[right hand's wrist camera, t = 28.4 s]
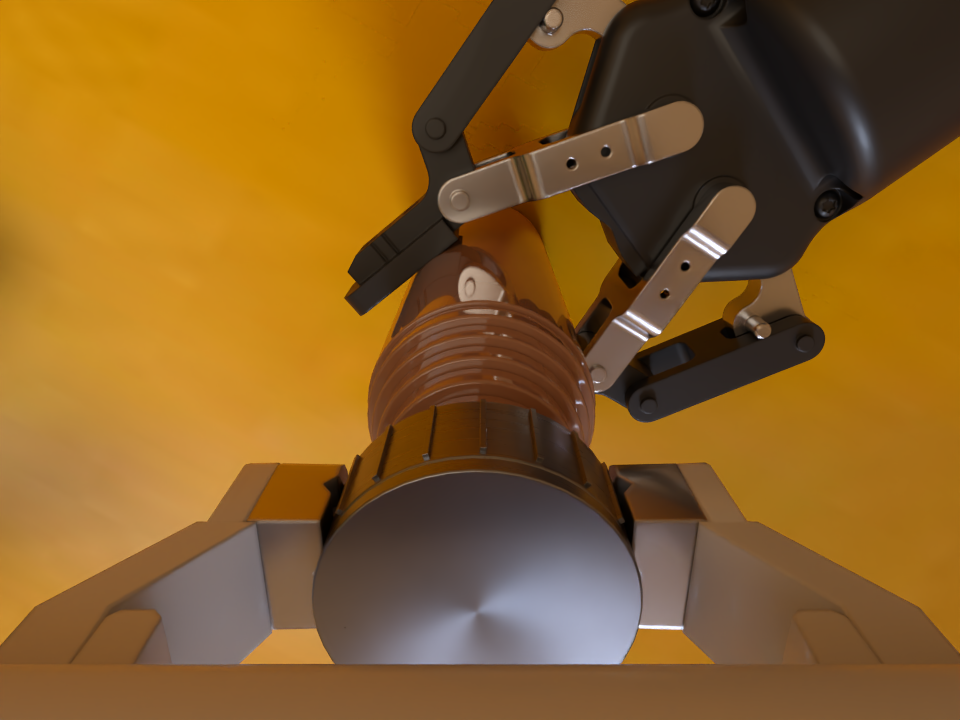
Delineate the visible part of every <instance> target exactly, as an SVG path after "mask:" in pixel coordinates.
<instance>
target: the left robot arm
mask: <svg viewBox="0 0 960 720" xmlns="http://www.w3.org/2000/svg"><path fill="white" fill-rule="evenodd" d="M575 34H587V35H590V36H592V37H593V38H594V39H596V41H595V44H594V47H593V51H592V54H591V57H590V60H589V64H588V67H587V70H586V73H585V77H584V80H583V83H582V86H581V90H580V93H579V96H578V99H577V103H576V106H575V109H574V112H573V116H572V119H571V122H570V125H569V128H566V129H563V130H561V131H558V132H555V133H552V134H549V135H547V136H544V137H541V138H538V139H535V140H533V141H530V142H527V143H524V144H522V145H519V146H517V147H514V148H512V149H510V150H508V151H506V152H503V153H500V154H497V155H495V156H492V157H489V158H486V159H484V160H481V161H478V162H475V163H474V162H473V159H472V156H471V153H470V150H469V147H468V144H467V141H466V138H465V135H464V132H463V131H464V129H465V128H466V126H467V125H468V124H469V122H470V121H471V119H472V118H473V117H474V115H475V114H476V112H477V111H478V109H479V108H480V107H481V105H482V104H483V102H484V101H485V100H486V98H487V97H488V95H489V94H490V93H491V91H492V90H493V88H494V87H495V86H496V84H497V83H498V81H499V80H500V79H501V77H502V76H503V74H504V73H505V71H506V70H507V69H508V67H509V66H510V64H511V63H512V62H513V60H514V59H515V57H516V56H517V55H518V53H519V52H520V50H521V49H522V48H523V46H524V45H525V43H526V42H528V43H529V44H530V45H532V46H533V47H534V48H536V49H538V50H541V51H550V50H554V49H556V48H557V47H559V46H560V45H562V44H563V43H564V42H565V41H566V40H567V39H568V38H569V37H570V36H572V35H575ZM412 133H413V136H414V139H415V141H416V142H417V144H418V145H419V148H420V151H421V154H422V156H423V159H424V162H425V165H426V168H427V171H428V175H429V186H428V190H427V192H426V193H425V194H424V195H423V196H422V197H421V198H420V199H419V200H418V201H416V202H415V203H414V204H413V205H412V206H410V207H409V208H408V209H407V210H406V211H404V212H403V213H402V214H401V215H400V216H398V217H397V218H396V219H395V220H394V221H392V222H391V223H390V224H389V225H388V226H386V227H385V228H384V229H383V230H382V231H380V232H379V233H378V234H377V235H376V236H374V237H373V238H372V239H371V240H370V241H369V242H367V243H366V244H365V245H364V246H363V247H362V248H361V250H360V251H359V252H358V253H357V255H356V256H355V258H354V260H353V262H352V264H351V266H350V268H349V270H348V273H349V274H350V275H351V277H352V278H353V279H354V280H355V281H356V282H355V283H354V284H353V285H352V287H351V288H350V290H349V291H348V293H347V294H346V296H345V297H344V298H345V299H346V301H347V302H348V303H349V304H350V305H351V306H352V307H353V308H354V309H355V310H356V312H357V313H358V314H359V315H360V316H362V315H364V314H365V313H367V312H368V311H369V310H371V309H372V308H373V307H374V306H376V305H377V304H378V303H379V302H381V301H382V300H383V299H384V298H386V297H387V296H388V295H389V294H391V293H392V292H393V291H394V290H396V289H397V288H398V287H399V286H400V285H402V284H403V283H404V282H405V281H407V280H408V279H409V278H410V277H412V276H413V275H414V274H415V273H417V272H418V271H419V270H420V269H422V268H423V267H424V266H425V265H426V264H427V263H428V262H429V261H431V260H432V259H433V258H435V257H436V256H438V255H439V254H440V253H442V252H443V251H444V250H445V249H447V248H448V247H449V246H450V245H452V244H453V243H454V242H455V241H457V240H458V237H459V228H460V226H462V225H463V224H464V223H466V222H469V221H472V220H475V219H478V218H481V217H484V216H486V215H489V214H492V213H495V212H498V211H501V210H504V209H507V208H509V207H512V206H515V205H518V204H521V203H524V202H528V201H536V200H541V199H544V198H547V197H550V196H553V195H556V194H559V193H562V192H565V191H568V190H570V191H571V192H572V193H573V195H574V196H575V197H576V199H577V200H578V201H579V202H580V203H581V204H582V205H583V206H584V207H585V208H586V209H587V210H588V211H589V212H591V213H592V214H593V215H595V216H596V217H597V218H598V219H600V222H601V225H602V227H603V230H604V233H605V236H606V238H607V241H608V243H609V244H610V246H611V247H612V248H613V250H614V251H615V252H616V254H617V255H618V257H619V259H618V260H617V262H616V263H615V265H614V266H613V268H612V269H611V270H610V272H609V273H608V275H607V276H606V278H605V279H604V281H603V283H602V285H601V288H600V292H599V295H598V297H597V298H596V300H595V301H594V302H593V304H592V305H591V307H590V308H589V310H588V311H587V312H586V314H585V315H584V317H583V318H582V319H581V321H580V322H579V324H578V325H577V326H576V328H575V329H574V330H575V332H576V335H577V338H578V341H579V343H580V346H581V349H582V352H583V354H584V357H585V360H586V363H587V365H588V368H589V371H590V374H591V376H592V381H593V385H594V390H595V394H601V395H604V396H606V397H608V398H610V399H612V400H614V401H615V402H617V403H619V404H620V405H622V406H624V407H626V408H627V409H628V411H629V412H630V414H631V416H632V417H633V418H634V419H636V420H638V421H640V422H652V421H655V420H658V419H660V418H663V417H666V416H668V415H671V414H673V413H676V412H678V411H681V410H683V409H686V408H688V407H691V406H693V405H696V404H699V403H701V402H704V401H706V400H709V399H711V398H714V397H716V396H719V395H721V394H724V393H727V392H729V391H732V390H734V389H737V388H739V387H742V386H744V385H747V384H749V383H752V382H754V381H757V380H760V379H762V378H765V377H767V376H770V375H772V374H775V373H777V372H780V371H782V370H785V369H788V368H790V367H793V366H795V365H798V364H800V363H803V362H805V361H808V360H810V359H812V358H814V357H815V356H816V355H818V354H819V353H820V351H821V350H822V348H823V346H824V343H825V335H824V332H823V330H822V329H821V328H820V327H819V326H818V325H816V324H815V323H813V322H812V321H810V319H808V318H807V317H806V316H805V314H804V311H803V308H802V304H801V301H800V297H799V294H798V290H797V287H796V283H795V280H794V276H793V272H792V269H791V268H792V267H793V266H794V265H795V264H796V263H797V262H798V261H799V260H800V258H801V257H802V255H803V254H804V252H805V250H806V249H807V247H808V245H809V244H810V242H811V241H812V239H813V238H814V237H815V235H816V234H817V233H818V232H819V231H820V230H821V229H822V228H823V227H824V226H825V225H826V224H827V223H828V222H830V221H831V220H833V219H834V218H836V217H838V216H840V215H841V214H843V213H845V212H847V211H849V210H851V209H853V208H855V207H857V206H858V205H860V204H862V203H864V202H865V201H867V200H869V199H870V198H872V197H873V196H874V195H876V194H877V193H879V192H880V191H882V190H883V189H885V188H886V187H887V186H889V185H890V184H892V183H893V182H895V181H896V180H897V179H899V178H900V177H902V176H903V175H905V174H906V173H907V172H909V171H910V170H912V169H913V168H915V167H916V166H918V165H919V164H920V163H922V162H923V161H925V160H926V159H928V158H929V157H930V156H932V155H933V154H935V153H936V152H938V151H939V150H940V149H942V148H943V147H945V146H946V145H948V144H949V143H951V142H952V141H953V140H955V139H956V138H958V137H959V136H960V0H637V1H634V2H632V3H630V4H628V5H626V4H625V3H624V2H622V1H621V0H493V1H492V2H491V4H490V5H489V7H488V8H487V10H486V11H485V13H484V14H483V16H482V17H481V19H480V20H479V22H478V23H477V24H476V26H475V27H474V29H473V30H472V32H471V33H470V35H469V36H468V38H467V39H466V41H465V42H464V44H463V45H462V47H461V48H460V50H459V51H458V52H457V54H456V55H455V57H454V58H453V60H452V61H451V63H450V64H449V66H448V67H447V69H446V70H445V72H444V73H443V75H442V76H441V77H440V79H439V80H438V82H437V83H436V85H435V86H434V88H433V89H432V91H431V92H430V94H429V95H428V97H427V98H426V100H425V101H424V102H423V104H422V105H421V107H420V108H419V110H418V111H417V113H416V114H415V116H414V119H413V122H412ZM736 280H749V282H748V285H747V287H746V289H745V291H744V292H743V293H742V294H741V295H740V296H738V297H736V298H735V299H733V300H732V301H730V302H729V303H728V304H727V306H726V307H725V309H724V312H723V318H721V319H719V320H716V321H714V322H711V323H709V324H707V325H704V326H702V327H699V328H697V329H694V330H692V331H690V332H687V333H685V334H682V335H680V336H677V337H675V338H673V339H670V340H668V341H665V342H663V343H660V344H658V345H656V346H653V347H651V348H648V349H646V350H643V351H641V352H638V351H639V350H640V348H641V347H642V346H643V344H644V343H645V342H646V341H647V340H648V339H649V338H652V337H656V336H657V335H659V334H660V333H661V332H662V331H663V330H664V328H665V327H666V326H667V324H668V323H669V322H670V321H671V319H672V318H673V317H674V315H675V314H676V313H677V311H678V310H679V309H680V307H681V306H682V305H683V303H684V302H685V301H686V300H687V298H688V297H689V296H690V294H691V293H692V292H693V290H694V289H695V288H696V286H697V285H698V284H699V282H715V281H736ZM663 290H664V291H663ZM661 291H663V293H661ZM637 352H638V353H637Z"/></svg>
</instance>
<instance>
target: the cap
mask: <svg viewBox="0 0 960 720" xmlns="http://www.w3.org/2000/svg"><path fill="white" fill-rule="evenodd" d="M333 516H334V517H333V520H332V523H331V526H330V529H329V532H328V535H327V537H326V540H325V543H324V546H323V549H322V552H321V555H320V557H319V560H318V564H317V567H316V571H315V575H314V578H313V588H312V607H313V615H314V619H315V623H316V628H317V631H318V634H319V636H320V638H321V641H322V643H323V646H324V647H325V649H326V651H327V652H328V654H329V656H330V657H331V659H332V661H333V662H334V663H335V664H621V662H622V661H623V660H624V658H625V657H626V655H627V653H628V652H629V650H630V648H631V646H632V644H633V642H634V640H635V637H636V634H637V631H638V628H639V625H640V620H641V614H642V609H643V589H642V583H641V576H640V572H639V569H638V566H637V563H636V560H635V557H634V554H633V551H632V548H631V545H630V542H629V539H628V535H627V532H626V529H625V526H624V522H625V520H624V517H623V514H622V511H621V508H620V505H619V502H618V499H617V496H616V493H615V490H614V487H613V484H612V480H611V477H610V474H609V471H608V468H607V466H606V464H605V462H603V463H600V462H599V460H598V459H597V457H596V456H595V455H594V453H593V452H592V451H591V450H590V449H589V447H588V446H587V445H586V444H585V443H584V442H583V441H582V440H581V439H580V438H579V436H578V433H577V432H576V431H575V430H573V431H572V432H571V431H569V430H568V429H567V428H566V427H564V426H562V425H561V424H559V423H557V422H555V421H554V420H552V419H550V418H548V417H546V416H544V415H541V414H539V413H536V409H533V408H530V410H529V409H525V408H522V407H518V406H515V405H509V404H503V403H497V402H486V399H480V401H471V402H458V403H452V404H447V405H442V406H437V407H436V405H432V406H430V409H427V410H424V411H421V412H418V413H416V414H414V415H412V416H410V417H408V418H406V419H404V420H401V421H400V422H398V423H397V424H395V425H394V426H392V425H391V424H389V425H388V426H386V429H385V432H383V433H382V434H381V435H380V436H379V437H378V438H376V439H375V440H374V441H373V442H372V443H371V444H370V445H369V446H368V447H367V449H366V450H365V451H364V452H363V453H362V454H361V456H359V455H356V456H355V458H354V461H353V463H352V466H351V469H350V472H349V475H348V478H347V481H346V483H345V486H344V489H343V492H342V494H341V497H340V500H339V503H338V506H337V507H335V508H333Z"/></svg>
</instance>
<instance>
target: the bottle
mask: <svg viewBox="0 0 960 720" xmlns="http://www.w3.org/2000/svg"><path fill="white" fill-rule="evenodd" d="M480 399H486V402H497V403H503V404H509V405H515V406H518V407H522V408H525V409H529V410H530V408H533V409H536V413H539V414H541V415H544V416H546V417H548V418H550V419H552V420H554V421H555V422H557V423H559V424H561V425H562V426H564V427H566V428H567V429H568V430H569V431H571V432H572V431H573V430H575V431H576V432H577V433H578V436H579V438H580V439H581V440H582V441H583V442H584V443H585V444H586V445H587V446H588V447H589V446H590V444H591V440H592V436H593V432H594V424H595V390H594V385H593V381H592V376H591V374H590V371H589V368H588V365H587V363H586V360H585V357H584V354H583V352H582V349H581V346H580V343H579V341H578V338H577V335H576V332H575V330H574V327H573V324H572V321H571V319H570V316H569V313H568V310H567V308H566V305H565V302H564V299H563V297H562V294H561V291H560V288H559V286H558V283H557V280H556V278H555V275H554V272H553V269H552V267H551V264H550V261H549V258H548V256H547V253H546V250H545V247H544V245H543V242H542V239H541V237H540V235H539V233H538V231H537V230H536V228H535V227H534V226H533V224H532V223H531V222H530V221H529V220H528V219H527V218H526V217H525V216H524V215H522V214H521V213H520V212H518V211H516V210H515V209H513V208H511V207H509V208H507V209H504V210H501V211H498V212H495V213H492V214H489V215H486V216H484V217H481V218H478V219H475V220H472V221H469V222H466V223H464V224H463V225H462V226H460V228H459V237H458V240H457V241H455V242H454V243H453V244H452V245H450V246H449V247H448V248H447V249H445V250H444V251H443V252H442V253H440V254H439V255H438V256H436V257H435V258H433V259H432V260H431V261H429V262H428V263H427V264H426V265H425V266H424V267H423V268H422V269H420V270H419V271H418V272H417V273H415V274H414V275H413V276H412V277H411V280H410V282H409V285H408V287H407V290H406V292H405V294H404V297H403V299H402V302H401V304H400V307H399V309H398V311H397V314H396V316H395V319H394V321H393V324H392V326H391V328H390V331H389V333H388V336H387V338H386V341H385V343H384V345H383V348H382V350H381V353H380V355H379V358H378V360H377V363H376V365H375V368H374V370H373V373H372V376H371V380H370V385H369V391H368V413H367V415H368V428H369V433H370V437H371V441H372V442H373V441H374V440H375V439H376V438H378V437H379V436H380V435H381V434H382V433H383V432H385V429H386V426H388V425H389V424H391V425H392V426H394V425H395V424H397V423H398V422H400V421H401V420H404V419H406V418H408V417H410V416H412V415H414V414H416V413H418V412H421V411H424V410H427V409H430V406H432V405H436V407H437V406H442V405H447V404H452V403H458V402H471V401H480Z"/></svg>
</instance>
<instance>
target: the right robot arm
mask: <svg viewBox="0 0 960 720" xmlns="http://www.w3.org/2000/svg"><path fill="white" fill-rule="evenodd" d="M609 474H610V477H611V480H612V484H613V487H614V490H615V493H616V496H617V499H618V502H619V505H620V508H621V511H622V514H623V517H624V520H625V522H624V526H625V529H626V532H627V535H628V539H629V542H630V545H631V548H632V551H633V554H634V557H635V560H636V563H637V566H638V569H639V572H640V576H641V583H642V589H643V609H642V614H641V620H640V625H639V628H644V629H681V630H683V633H684V634H685V635H686V636H687V637H688V638H689V639H690V640H691V641H693V642H694V643H695V644H696V645H697V646H698V647H699V648H700V649H701V650H702V651H703V652H704V653H705V654H706V655H707V656H708V657H709V658H710V659H711V660H712V661H713V662H715V663H716V664H239V663H240V662H241V661H243V660H244V659H245V658H246V657H247V656H248V655H249V654H250V653H251V652H252V651H253V650H254V649H255V648H256V647H257V646H258V645H259V644H261V643H262V642H263V641H264V640H265V639H266V638H267V637H268V636H269V635H270V634H271V633H272V630H274V629H309V628H316V623H315V619H314V615H313V607H312V588H313V578H314V575H315V571H316V567H317V564H318V560H319V557H320V555H321V552H322V549H323V546H324V543H325V540H326V537H327V535H328V532H329V529H330V526H331V523H332V520H333V517H334V516H333V508H335V507H337V506H338V503H339V500H340V497H341V494H342V492H343V489H344V486H345V483H346V481H347V478H348V472H347V469H346V467H345V465H340V464H288V463H283V464H280V463H250V464H246V465H245V466H244V467H243V468H242V470H241V471H240V473H239V474H238V476H237V477H236V479H235V480H234V482H233V483H232V485H231V486H230V488H229V489H228V491H227V492H226V494H225V495H224V497H223V498H222V500H221V502H220V503H219V505H218V506H217V508H216V509H215V511H214V512H213V514H212V515H211V517H210V518H209V520H208V521H207V522H196V523H194V524H192V525H190V526H188V527H186V528H184V529H182V530H180V531H178V532H177V533H175V534H173V535H171V536H169V537H167V538H165V539H163V540H161V541H159V542H158V543H156V544H154V545H152V546H150V547H148V548H146V549H144V550H142V551H140V552H138V553H137V554H135V555H133V556H131V557H129V558H127V559H125V560H123V561H121V562H119V563H117V564H116V565H114V566H112V567H110V568H108V569H106V570H104V571H102V572H100V573H98V574H97V575H95V576H93V577H91V578H89V579H87V580H85V581H83V582H81V583H79V584H77V585H76V586H74V587H72V588H70V589H68V590H66V591H64V592H62V593H60V594H58V595H56V596H55V597H53V598H51V599H49V600H47V601H45V602H43V603H41V604H39V605H37V606H36V607H34V608H33V610H32V611H31V612H30V613H29V614H28V615H27V616H26V617H25V619H24V620H23V621H22V622H21V623H20V624H19V625H18V626H17V628H16V629H15V630H14V631H13V632H12V633H11V634H10V635H9V636H8V638H7V639H6V640H5V641H4V642H3V643H2V644H1V645H0V720H960V654H959V652H958V651H957V650H956V649H955V648H954V647H953V646H952V644H951V643H950V642H949V641H948V640H947V639H946V638H945V636H944V635H943V634H942V633H941V632H940V631H939V630H938V628H937V627H936V626H935V625H934V624H933V623H932V622H931V620H930V619H929V618H928V617H927V616H926V615H925V614H924V612H923V611H922V610H921V609H920V608H919V607H917V606H915V605H913V604H911V603H910V602H908V601H906V600H904V599H902V598H900V597H898V596H896V595H895V594H893V593H891V592H889V591H887V590H885V589H883V588H881V587H879V586H878V585H876V584H874V583H872V582H870V581H868V580H866V579H864V578H862V577H861V576H859V575H857V574H855V573H853V572H851V571H849V570H847V569H846V568H844V567H842V566H840V565H838V564H836V563H834V562H832V561H830V560H829V559H827V558H825V557H823V556H821V555H819V554H817V553H815V552H813V551H812V550H810V549H808V548H806V547H804V546H802V545H800V544H798V543H797V542H795V541H793V540H791V539H789V538H787V537H785V536H783V535H781V534H780V533H778V532H776V531H774V530H772V529H770V528H768V527H766V526H765V525H763V524H761V523H759V522H747V520H746V519H745V517H744V516H743V514H742V513H741V511H740V510H739V508H738V507H737V505H736V504H735V502H734V501H733V499H732V498H731V496H730V495H729V493H728V491H727V490H726V488H725V487H724V485H723V484H722V482H721V481H720V479H719V478H718V476H717V475H716V473H715V472H714V470H713V469H712V467H711V466H710V465H709V464H707V463H684V464H638V465H612V466H609Z"/></svg>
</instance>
